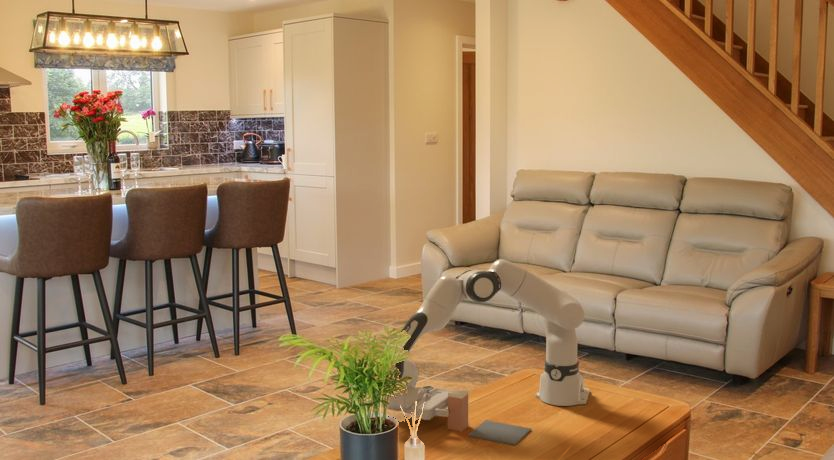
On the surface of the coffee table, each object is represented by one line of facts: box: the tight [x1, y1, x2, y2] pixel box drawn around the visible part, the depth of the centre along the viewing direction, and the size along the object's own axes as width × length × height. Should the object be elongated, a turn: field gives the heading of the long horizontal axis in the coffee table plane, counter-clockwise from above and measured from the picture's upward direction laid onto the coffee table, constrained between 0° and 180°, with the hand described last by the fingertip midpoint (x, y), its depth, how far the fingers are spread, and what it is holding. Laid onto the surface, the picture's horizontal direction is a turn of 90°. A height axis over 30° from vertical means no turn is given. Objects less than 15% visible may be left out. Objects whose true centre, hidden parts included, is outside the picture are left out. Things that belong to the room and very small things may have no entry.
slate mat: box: [467, 419, 532, 446], centre depth 255 cm, size 14×16×1 cm
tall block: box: [447, 388, 469, 432], centre depth 259 cm, size 5×5×12 cm
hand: (455, 408), depth 259 cm, fingers open, 8 cm apart
